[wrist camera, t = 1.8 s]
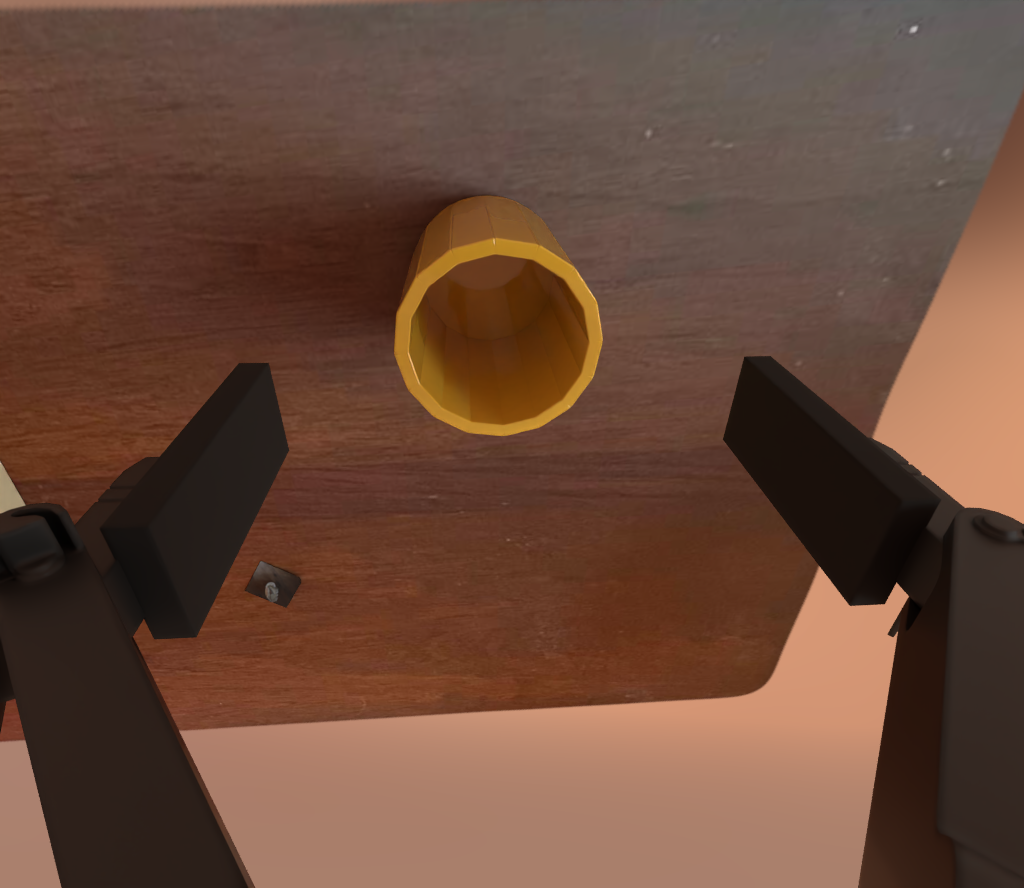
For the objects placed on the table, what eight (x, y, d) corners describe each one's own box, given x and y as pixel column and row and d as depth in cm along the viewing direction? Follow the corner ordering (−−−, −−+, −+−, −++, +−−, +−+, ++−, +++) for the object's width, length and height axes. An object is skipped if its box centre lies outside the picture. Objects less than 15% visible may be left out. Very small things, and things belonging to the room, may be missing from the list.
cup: (381, 259, 25) (349, 329, 18) (503, 159, 24) (524, 189, 16) (474, 369, 29) (480, 467, 21) (587, 289, 27) (637, 364, 19)
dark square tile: (245, 590, 36) (236, 604, 35) (261, 560, 35) (253, 573, 34) (286, 607, 37) (280, 621, 35) (303, 578, 35) (297, 592, 34)
